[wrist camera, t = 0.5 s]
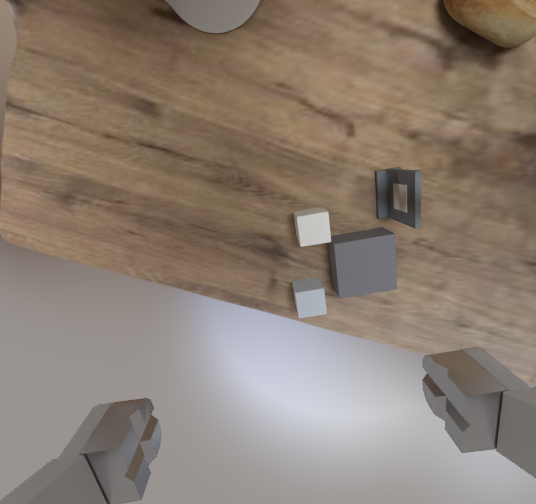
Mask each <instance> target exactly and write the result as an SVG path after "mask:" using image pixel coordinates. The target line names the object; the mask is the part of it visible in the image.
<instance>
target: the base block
mask: <svg viewBox="0 0 536 504" xmlns="http://www.w3.org/2000/svg"><path fill="white" fill-rule="evenodd" d="M328 247H329V256H330V265H331V274H332V284H333V288H334V290H335V292H336V293H337V295H338V297H339V298H340V299H341V298H347V297H353V296H359V295H365V294H371V293H377V292H383V291H389V290H395V289H397V280H396V250H395V234H394V233H392V232H390V231H389V230H387V229H385V228H377V229H371V230H366V231H360V232H354V233H348V234H342V235H336V236H331V242H328Z"/></svg>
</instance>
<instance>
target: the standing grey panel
mask: <svg viewBox="0 0 536 504" xmlns="http://www.w3.org/2000/svg"><path fill="white" fill-rule="evenodd" d="M375 180H376V203H377V218H385V217H389V218H392V219H394V220H396V221H399V222H401V223H403V224H406V225H408V226H410V227H413V228H415V229H417V228H421V170H403V169H401V167H397V168H391V169H385V170H379V171H375Z"/></svg>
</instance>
